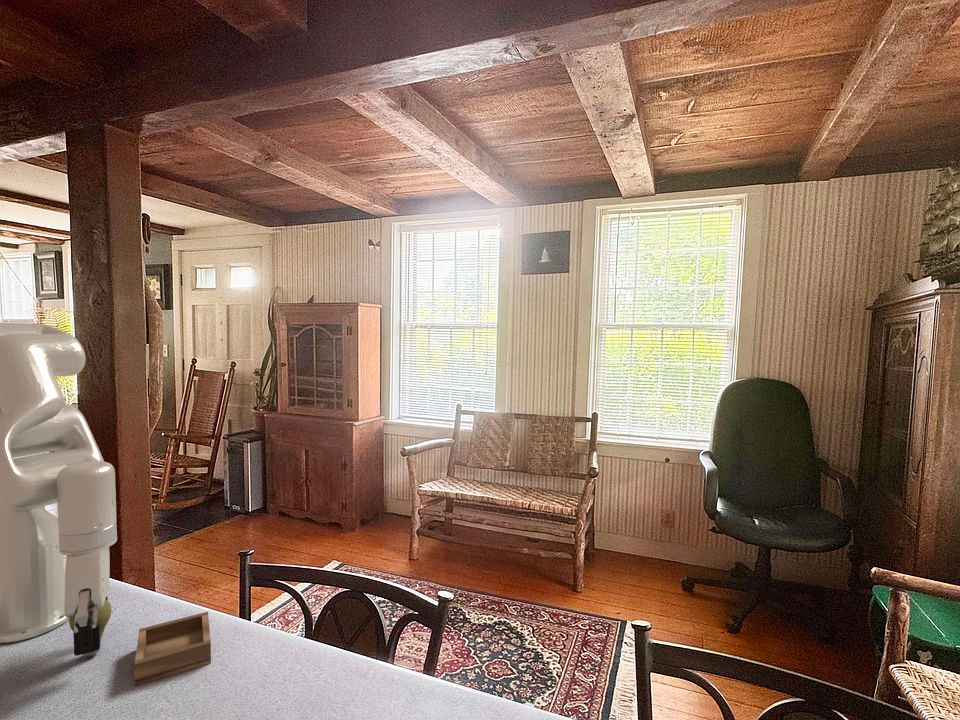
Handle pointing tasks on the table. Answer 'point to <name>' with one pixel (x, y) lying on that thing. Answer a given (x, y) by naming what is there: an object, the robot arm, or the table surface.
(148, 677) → the open wooden box
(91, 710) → the table surface
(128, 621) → the table surface
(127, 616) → the table surface
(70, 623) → the light bulb
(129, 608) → the table surface
